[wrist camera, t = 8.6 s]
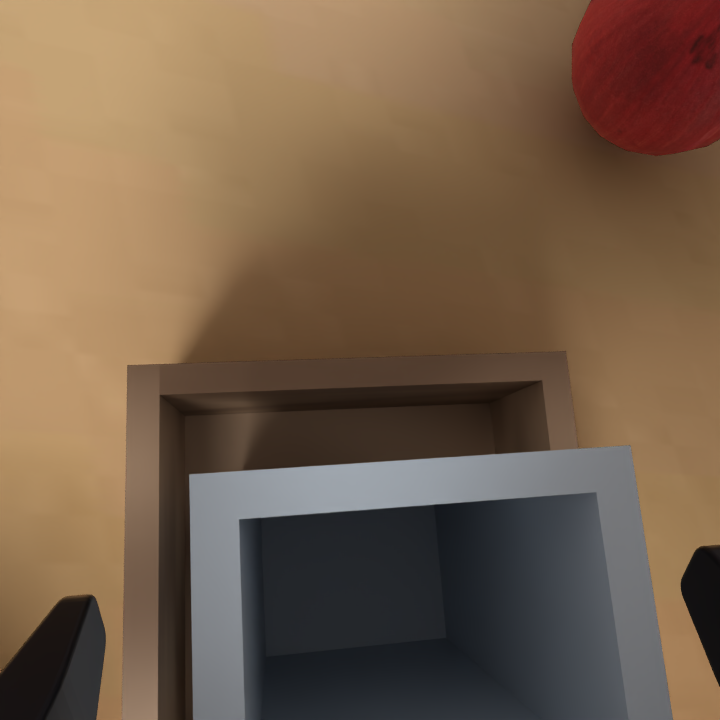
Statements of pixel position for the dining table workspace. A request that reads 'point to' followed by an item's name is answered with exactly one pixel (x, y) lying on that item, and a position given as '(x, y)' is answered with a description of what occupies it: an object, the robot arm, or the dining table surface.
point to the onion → (650, 73)
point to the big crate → (295, 460)
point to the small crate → (426, 591)
